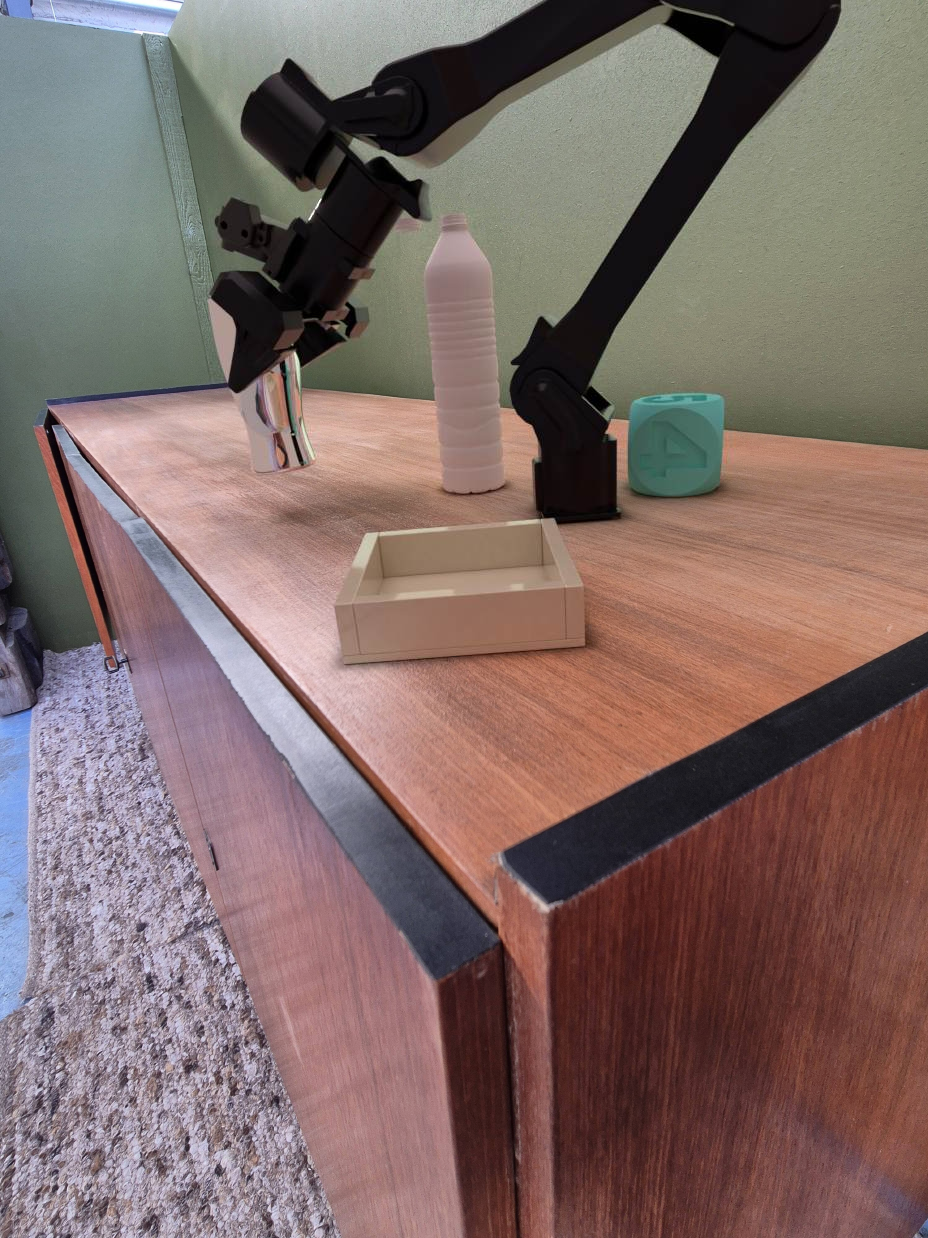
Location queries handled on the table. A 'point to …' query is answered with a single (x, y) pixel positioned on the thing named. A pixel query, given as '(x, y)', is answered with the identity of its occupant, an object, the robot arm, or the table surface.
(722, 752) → the table surface
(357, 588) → the tray
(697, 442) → the decorative dice
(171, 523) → the table surface
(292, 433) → the silver metal tumbler
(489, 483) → the water bottle
